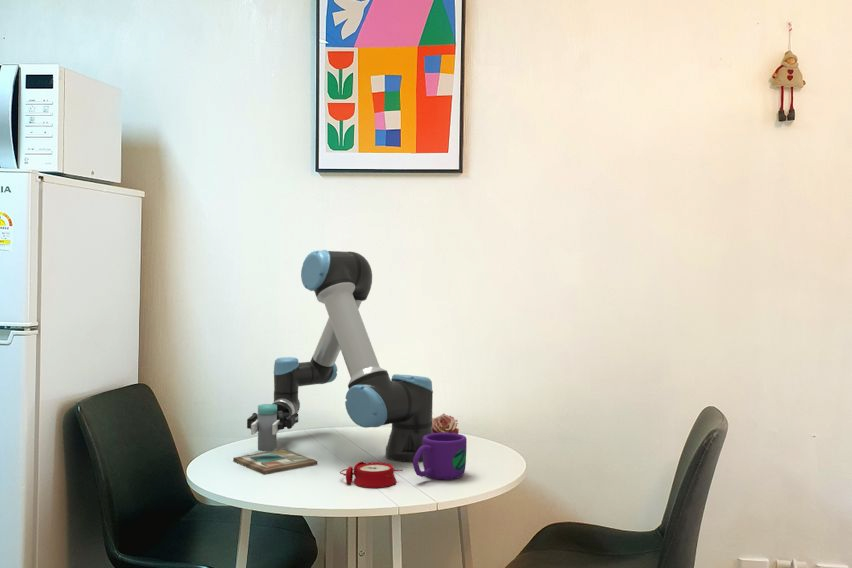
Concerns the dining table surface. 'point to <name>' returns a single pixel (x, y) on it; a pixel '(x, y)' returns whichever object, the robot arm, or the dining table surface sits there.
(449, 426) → the flower
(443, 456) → the mug
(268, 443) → the grey teal canister
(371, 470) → the alarm clock
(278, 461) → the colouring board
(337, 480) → the dining table surface
